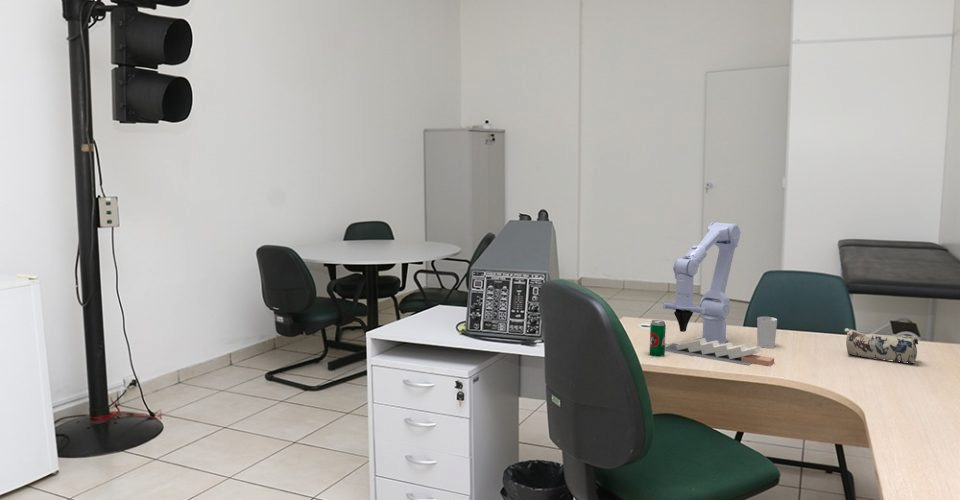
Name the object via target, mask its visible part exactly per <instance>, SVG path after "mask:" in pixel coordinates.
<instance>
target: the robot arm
mask: <svg viewBox="0 0 960 500" xmlns="http://www.w3.org/2000/svg"><path fill="white" fill-rule="evenodd" d="M740 237H741V230H740V227H739V225H738V224H737V223H727V222H726V223H725V222H716V221H712V222H711V223H710V224H709V225H708V226H707V231H706V234H705V235H704V237H703V238H702V239H701V240H700V242H699V244H694V245H692V246H691V248H690V249H689V250H688V251H687V252H686V253H685V255H683V256H682V258H677V260H675V262H674V263H673V266H672V268H673V269H672V270H673V273H674V278H675V280H676V281H675V282H676V285H675V302H664V303H663V305H662V309H663V310H664V309H665V310H674V312H673V315H674V316H675V318H676V320H677V323H678V327H679V332H681V333H682V332H683V333H685V332H687V328H688V324H689V323H690V320H691V317H693V314H694V313H695V314H696V313H697V314H700V315H701V318H702V319H703V320H702V338H701V339H703V338H705V339H706V342H711V341H716V340H718V343H719V345H720V344H725V343H728V341H729V339H728V338H727V322H726V318H728V317H729V314H730V310H731V309H730V306H731V305H730V304H731V299H729V297H728V296H727V295H726V294H725V293H726V288H727V284H728V280H729V276H730V272H731V267H732V263H733V259H734V254H735V250H736V249H737V247H738V244H739V240H740ZM714 245H715V246H716V247H717V248H718V249H719V250H718V254H717V258H716V263H715V267H714V272H713V276H712V281H711V284H710V288H709V290H708V291H707V292H705V293H704V294H702V298H701V300H700V301H699V303H698V305H693V302H694V301H693V300H694V276H695V275H697V272H698V269H699V266H700V265H701V263H702V262H703V261H704V259H705V258H706V257H707V256H708V255H707V251H708V250H710V249H711V248H712V247H713V246H714Z"/></svg>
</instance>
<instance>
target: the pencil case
mask: <svg viewBox="0 0 960 500" xmlns="http://www.w3.org/2000/svg"><path fill="white" fill-rule="evenodd" d="M844 332H845V333H846V342H845V344H846V353H847V354H848V355H852V356H856V357H860V356H861V357H860V358H866V357H868V358H867V359H872V358H877V359H876V360H879V359H885V360H893V361H892V362H896V361H900V362H899V363H902V362H908V363H907V364H909V363H915V364H916V359H917V355H918V348H917V345H919V340H918V339H917V338H916V335H913V336H909V335H900V336H897V335H889V334H888V335H887V334H875V333H864V332H863V333H862V332H861V331H857V330H854V329H851V328H848V327H847V328H844ZM885 360H884V361H885Z"/></svg>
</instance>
